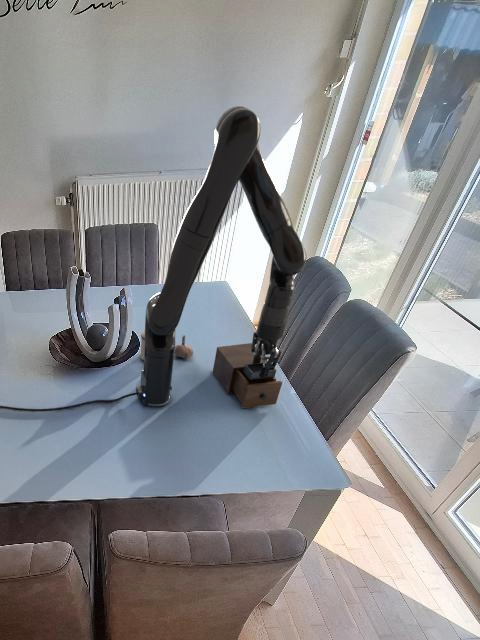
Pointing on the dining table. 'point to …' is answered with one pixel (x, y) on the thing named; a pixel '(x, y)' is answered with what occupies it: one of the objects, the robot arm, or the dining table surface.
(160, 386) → the robot arm
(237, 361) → the cabinet
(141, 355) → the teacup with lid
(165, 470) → the dining table surface
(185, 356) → the garlic bulb
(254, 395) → the drawer
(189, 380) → the dining table surface
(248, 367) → the tray
